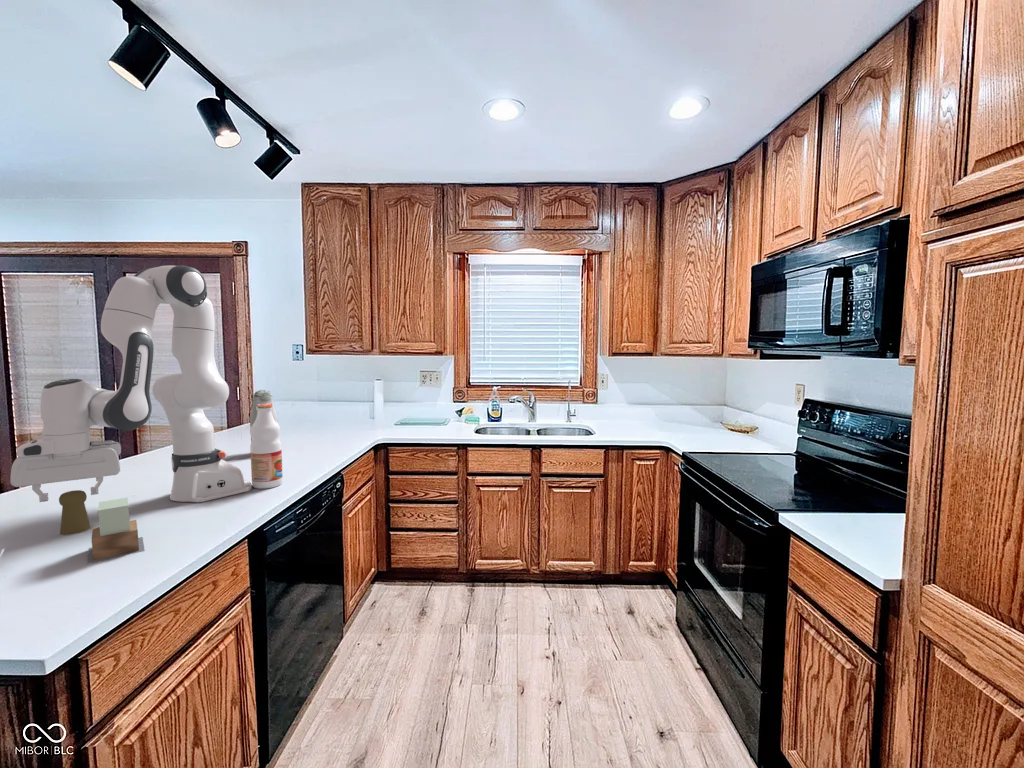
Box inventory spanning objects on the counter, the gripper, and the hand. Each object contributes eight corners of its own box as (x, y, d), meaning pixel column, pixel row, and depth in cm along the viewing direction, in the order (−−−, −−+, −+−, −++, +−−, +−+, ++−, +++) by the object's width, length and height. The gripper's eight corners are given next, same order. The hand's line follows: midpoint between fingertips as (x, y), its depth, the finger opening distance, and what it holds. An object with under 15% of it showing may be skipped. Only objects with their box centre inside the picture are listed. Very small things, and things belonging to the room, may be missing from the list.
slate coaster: (142, 539, 118) (142, 536, 118) (144, 554, 110) (144, 550, 110) (89, 551, 111) (88, 548, 111) (87, 567, 104) (87, 563, 104)
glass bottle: (246, 455, 203) (243, 390, 200) (268, 450, 212) (266, 388, 209) (261, 457, 198) (258, 391, 196) (283, 452, 208) (280, 389, 205)
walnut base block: (137, 539, 116) (136, 519, 116) (139, 550, 110) (137, 529, 110) (94, 548, 111) (92, 527, 111) (93, 560, 105) (91, 538, 105)
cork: (97, 528, 125) (94, 487, 124) (77, 538, 119) (74, 495, 118) (74, 528, 125) (70, 487, 124) (52, 538, 119) (49, 495, 118)
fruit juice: (250, 483, 164) (247, 403, 161) (280, 479, 169) (277, 401, 166) (253, 491, 156) (249, 407, 153) (284, 486, 161) (281, 404, 158)
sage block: (129, 521, 115) (127, 497, 114) (130, 530, 109) (128, 505, 109) (100, 526, 111) (98, 502, 111) (100, 536, 106) (98, 510, 105)
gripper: (120, 437, 128) (122, 487, 129) (11, 446, 115) (15, 502, 116) (120, 441, 123) (123, 493, 124) (7, 451, 110) (10, 508, 111)
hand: (70, 497), depth 120 cm, fingers open, 8 cm apart
